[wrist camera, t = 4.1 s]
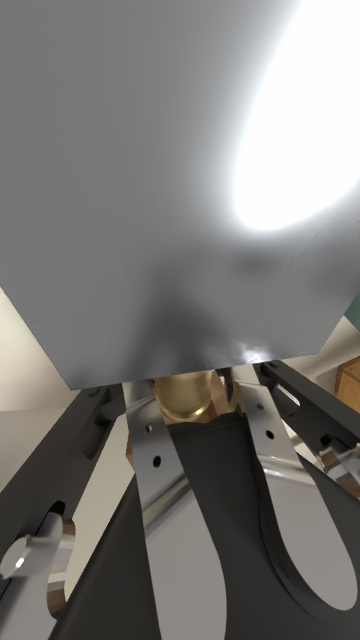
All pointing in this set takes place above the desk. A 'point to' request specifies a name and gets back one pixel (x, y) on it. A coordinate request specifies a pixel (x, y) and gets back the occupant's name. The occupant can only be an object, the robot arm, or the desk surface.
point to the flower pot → (354, 312)
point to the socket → (214, 409)
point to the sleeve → (178, 180)
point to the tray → (349, 384)
